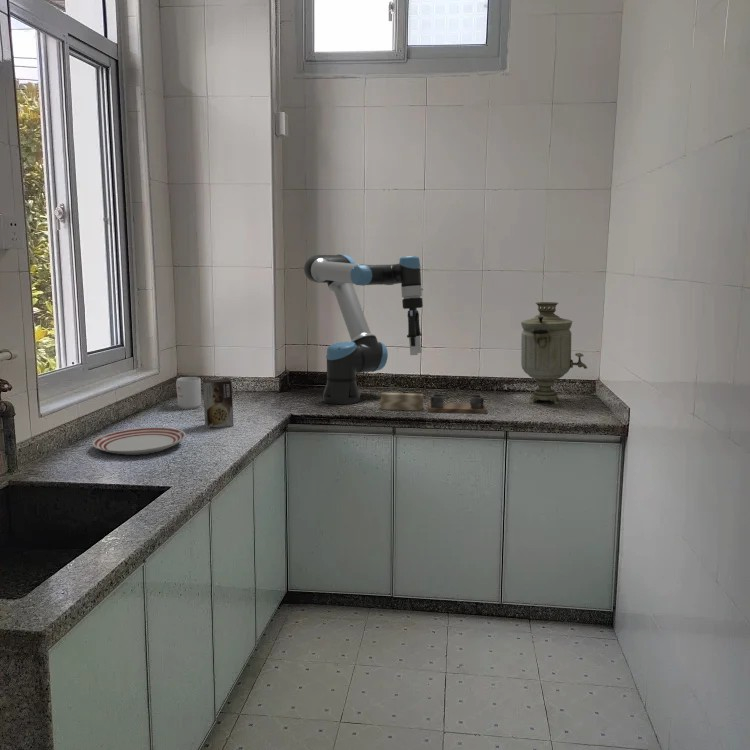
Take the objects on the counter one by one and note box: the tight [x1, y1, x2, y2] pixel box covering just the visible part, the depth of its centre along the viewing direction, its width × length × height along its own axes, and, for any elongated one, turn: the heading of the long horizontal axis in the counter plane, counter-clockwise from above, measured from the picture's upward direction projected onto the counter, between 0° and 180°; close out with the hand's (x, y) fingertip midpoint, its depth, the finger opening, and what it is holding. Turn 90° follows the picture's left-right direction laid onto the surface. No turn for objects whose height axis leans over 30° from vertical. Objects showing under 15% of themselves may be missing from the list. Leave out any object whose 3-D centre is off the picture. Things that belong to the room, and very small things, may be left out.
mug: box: [175, 376, 202, 410], centre depth 277 cm, size 12×9×11 cm
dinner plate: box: [91, 426, 187, 456], centre depth 221 cm, size 28×27×3 cm
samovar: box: [520, 301, 588, 406], centre depth 286 cm, size 30×26×40 cm
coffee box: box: [202, 377, 234, 429], centre depth 247 cm, size 9×6×16 cm
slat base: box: [427, 393, 488, 415], centre depth 274 cm, size 22×10×6 cm, turn 85°
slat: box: [380, 392, 424, 412], centre depth 276 cm, size 16×4×6 cm, turn 83°
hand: (415, 354), depth 271 cm, fingers open, 13 cm apart
